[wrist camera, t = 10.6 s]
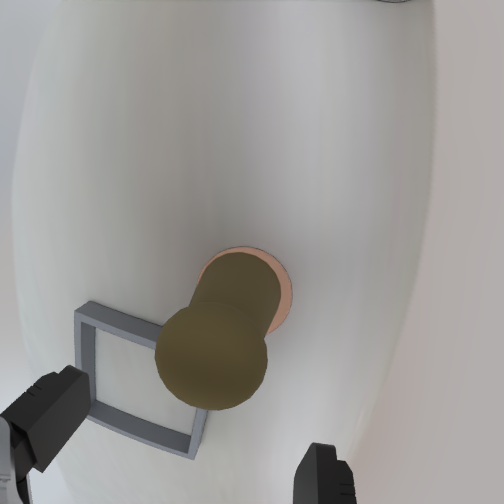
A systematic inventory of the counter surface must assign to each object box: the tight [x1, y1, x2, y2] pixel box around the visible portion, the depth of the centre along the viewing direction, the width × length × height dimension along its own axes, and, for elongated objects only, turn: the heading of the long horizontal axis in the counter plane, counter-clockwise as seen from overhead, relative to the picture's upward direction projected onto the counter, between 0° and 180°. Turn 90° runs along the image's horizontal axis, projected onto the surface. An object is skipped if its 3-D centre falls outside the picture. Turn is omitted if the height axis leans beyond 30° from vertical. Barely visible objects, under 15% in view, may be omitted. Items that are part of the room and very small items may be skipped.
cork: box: [155, 252, 281, 410], centre depth 18 cm, size 6×6×11 cm
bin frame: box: [74, 301, 208, 460], centre depth 25 cm, size 12×12×2 cm
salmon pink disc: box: [197, 247, 292, 335], centre depth 24 cm, size 7×7×1 cm
